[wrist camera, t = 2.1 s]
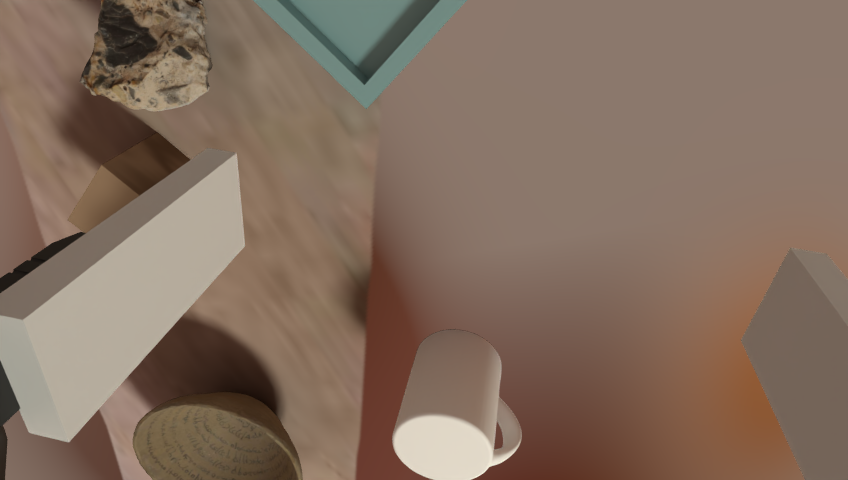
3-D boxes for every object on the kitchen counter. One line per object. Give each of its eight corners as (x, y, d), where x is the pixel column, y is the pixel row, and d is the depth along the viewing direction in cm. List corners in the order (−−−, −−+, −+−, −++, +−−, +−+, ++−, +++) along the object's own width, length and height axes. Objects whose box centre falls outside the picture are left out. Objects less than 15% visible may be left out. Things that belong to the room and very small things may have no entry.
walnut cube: (124, 182, 50) (67, 219, 44) (158, 131, 46) (101, 165, 40) (187, 233, 51) (141, 276, 45) (225, 188, 48) (180, 228, 42)
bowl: (350, 461, 64) (327, 526, 57) (220, 466, 70) (186, 526, 63) (286, 340, 56) (250, 399, 49) (145, 358, 62) (96, 413, 55)
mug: (434, 398, 41) (549, 481, 44) (453, 313, 50) (548, 386, 52) (372, 444, 46) (480, 518, 48) (399, 358, 54) (490, 424, 57)
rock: (64, 15, 41) (88, 132, 38) (52, -66, 35) (80, 66, 32) (190, 21, 45) (219, 126, 43) (199, -50, 39) (233, 67, 37)
